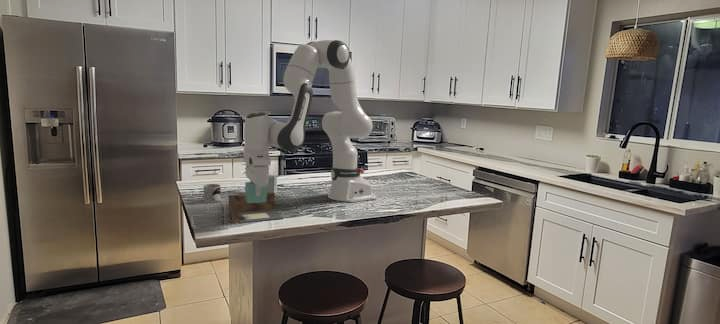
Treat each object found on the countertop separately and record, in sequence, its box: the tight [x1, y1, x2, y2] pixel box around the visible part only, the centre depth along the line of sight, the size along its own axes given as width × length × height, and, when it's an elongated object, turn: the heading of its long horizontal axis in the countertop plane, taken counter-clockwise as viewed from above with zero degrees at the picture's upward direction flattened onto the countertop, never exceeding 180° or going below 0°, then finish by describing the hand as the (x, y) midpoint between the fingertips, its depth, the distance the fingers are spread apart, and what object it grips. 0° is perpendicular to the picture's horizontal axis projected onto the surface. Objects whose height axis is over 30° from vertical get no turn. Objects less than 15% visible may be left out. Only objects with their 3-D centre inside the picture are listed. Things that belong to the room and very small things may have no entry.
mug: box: [203, 183, 222, 204], centre depth 176 cm, size 10×7×7 cm, turn 170°
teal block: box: [244, 181, 267, 203], centre depth 154 cm, size 4×7×7 cm, turn 117°
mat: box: [239, 209, 284, 224], centre depth 157 cm, size 16×12×1 cm
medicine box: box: [267, 173, 278, 194], centre depth 191 cm, size 8×4×9 cm, turn 84°
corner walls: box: [228, 192, 276, 224], centre depth 157 cm, size 18×14×7 cm
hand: (255, 193), depth 154 cm, fingers closed on teal block, 4 cm apart
